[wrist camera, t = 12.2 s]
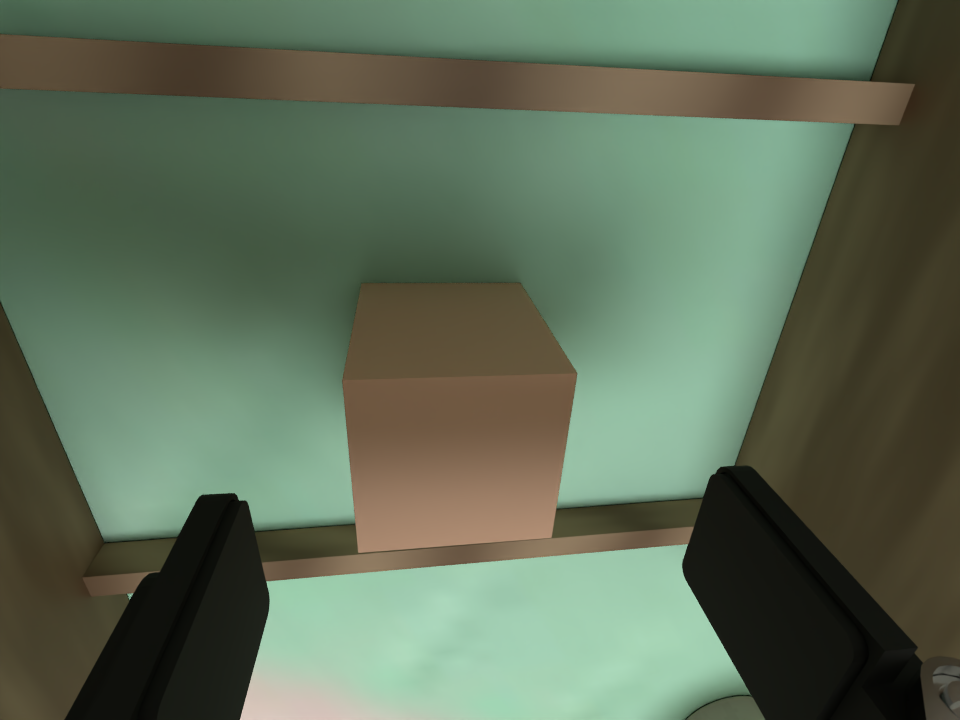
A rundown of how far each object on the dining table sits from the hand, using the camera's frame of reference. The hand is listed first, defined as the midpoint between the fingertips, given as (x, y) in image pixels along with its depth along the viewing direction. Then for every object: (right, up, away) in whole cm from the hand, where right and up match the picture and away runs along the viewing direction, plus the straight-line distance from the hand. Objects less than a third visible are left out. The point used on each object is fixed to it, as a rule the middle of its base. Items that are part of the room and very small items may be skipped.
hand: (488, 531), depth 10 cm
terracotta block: (-1, +4, +7) cm, 8 cm away
